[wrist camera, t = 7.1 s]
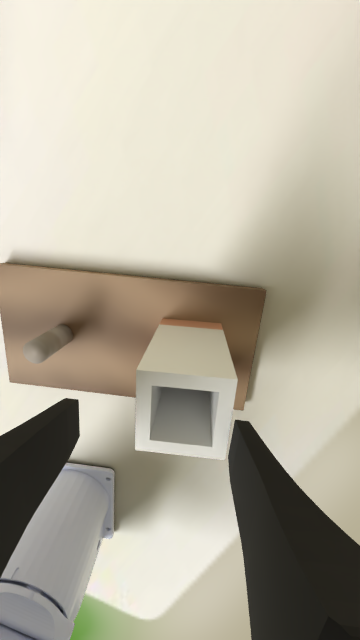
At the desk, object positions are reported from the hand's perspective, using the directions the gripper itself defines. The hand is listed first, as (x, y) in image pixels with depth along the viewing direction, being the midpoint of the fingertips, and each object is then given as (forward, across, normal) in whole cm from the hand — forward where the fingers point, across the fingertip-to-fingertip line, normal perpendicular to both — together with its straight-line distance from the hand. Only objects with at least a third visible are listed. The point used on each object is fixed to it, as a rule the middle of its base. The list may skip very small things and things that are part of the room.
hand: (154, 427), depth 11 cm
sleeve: (+8, -1, -1) cm, 8 cm away
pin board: (+9, +4, 0) cm, 10 cm away
